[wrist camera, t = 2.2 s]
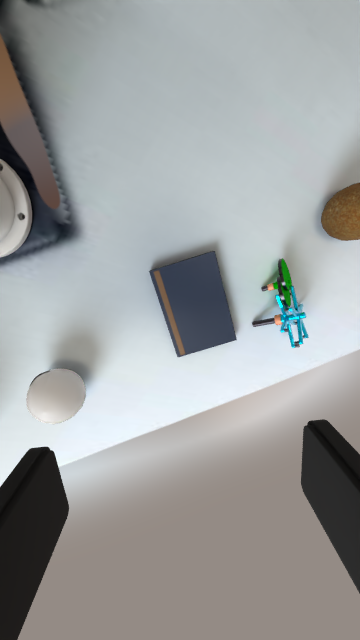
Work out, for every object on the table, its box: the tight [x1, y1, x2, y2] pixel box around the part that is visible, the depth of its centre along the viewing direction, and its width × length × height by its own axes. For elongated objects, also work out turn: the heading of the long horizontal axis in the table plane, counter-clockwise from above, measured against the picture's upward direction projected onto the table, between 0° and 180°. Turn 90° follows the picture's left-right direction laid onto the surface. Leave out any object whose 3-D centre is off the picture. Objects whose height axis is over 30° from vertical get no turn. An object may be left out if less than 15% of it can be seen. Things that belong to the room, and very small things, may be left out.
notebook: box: [149, 251, 236, 357], centre depth 33 cm, size 13×9×1 cm
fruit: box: [321, 183, 360, 241], centre depth 28 cm, size 6×6×8 cm
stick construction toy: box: [252, 258, 308, 348], centre depth 33 cm, size 12×7×8 cm
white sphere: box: [26, 368, 86, 424], centre depth 33 cm, size 10×7×7 cm
